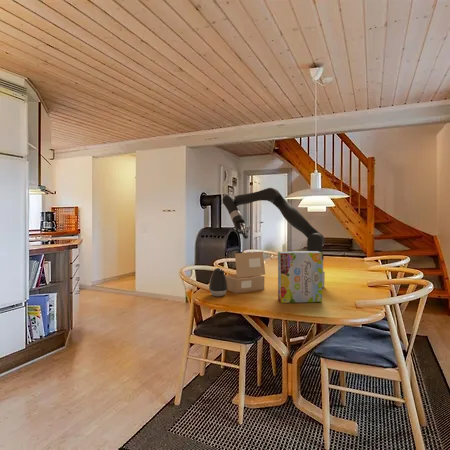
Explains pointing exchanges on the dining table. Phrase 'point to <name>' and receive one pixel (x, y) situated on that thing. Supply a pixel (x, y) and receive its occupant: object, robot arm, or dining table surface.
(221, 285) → the dark grey egg shape
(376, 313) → the dining table surface
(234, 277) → the mailer box
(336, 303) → the dining table surface
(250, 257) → the lid
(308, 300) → the snack box
